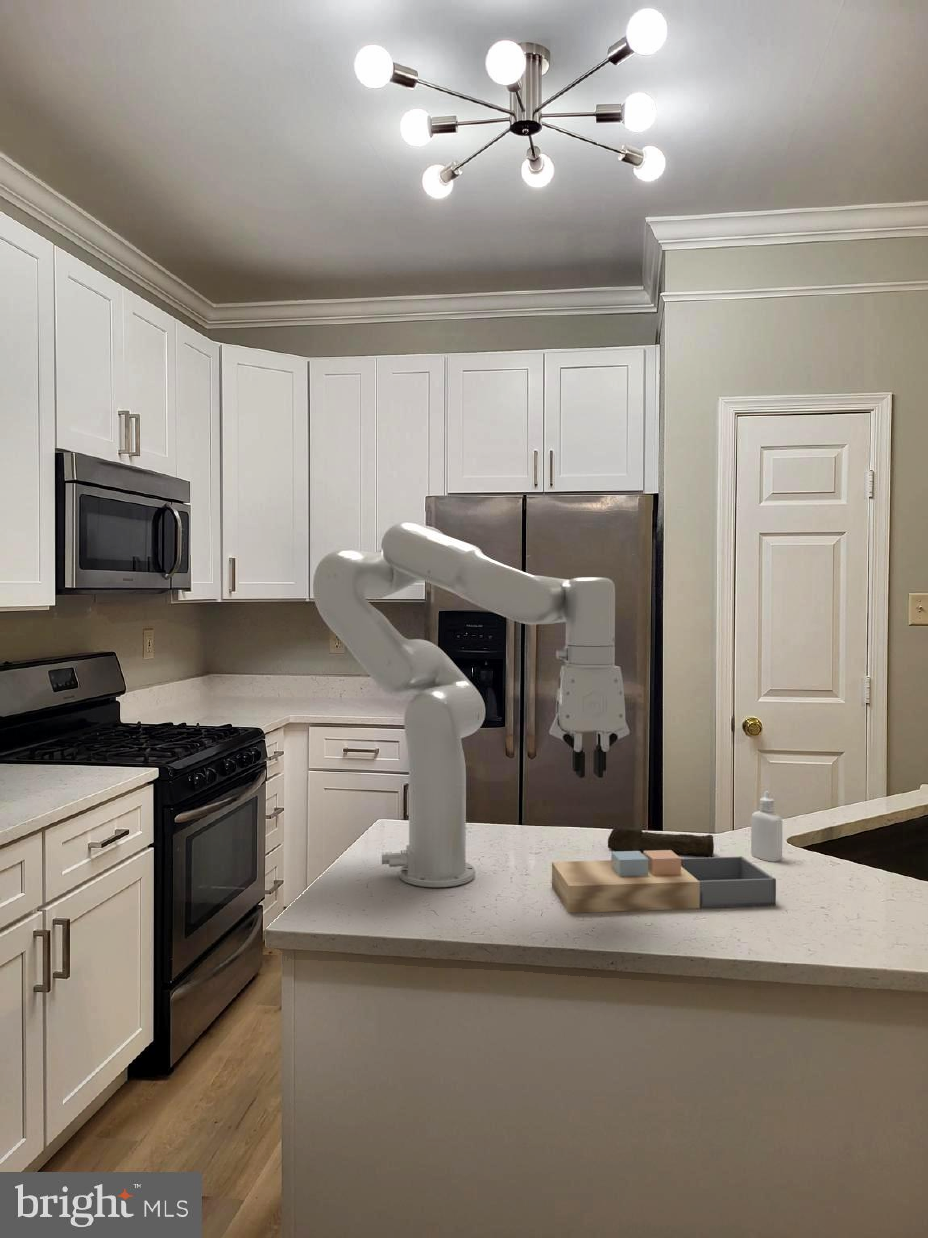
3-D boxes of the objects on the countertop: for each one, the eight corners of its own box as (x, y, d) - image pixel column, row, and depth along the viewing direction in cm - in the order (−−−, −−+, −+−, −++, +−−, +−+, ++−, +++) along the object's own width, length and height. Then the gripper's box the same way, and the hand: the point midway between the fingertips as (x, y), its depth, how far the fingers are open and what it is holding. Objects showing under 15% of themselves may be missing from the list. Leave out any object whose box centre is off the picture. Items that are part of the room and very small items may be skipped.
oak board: (568, 913, 128) (569, 886, 127) (551, 886, 139) (551, 862, 139) (699, 908, 130) (699, 881, 130) (671, 883, 142) (671, 858, 142)
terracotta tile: (652, 875, 133) (652, 859, 133) (643, 866, 137) (643, 850, 137) (680, 874, 133) (680, 858, 133) (670, 865, 138) (670, 850, 138)
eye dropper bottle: (772, 853, 159) (773, 788, 159) (784, 862, 153) (785, 795, 153) (748, 853, 159) (749, 788, 159) (760, 862, 153) (760, 795, 153)
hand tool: (713, 854, 159) (713, 829, 159) (714, 860, 155) (714, 834, 155) (609, 847, 164) (609, 822, 164) (607, 853, 160) (607, 827, 160)
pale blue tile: (619, 876, 132) (619, 860, 132) (611, 867, 137) (611, 851, 137) (648, 875, 133) (648, 859, 133) (638, 866, 137) (639, 851, 137)
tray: (699, 908, 130) (699, 881, 130) (671, 883, 142) (671, 858, 142) (775, 905, 131) (775, 879, 131) (741, 880, 143) (742, 856, 143)
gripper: (543, 659, 129) (543, 782, 129) (648, 658, 131) (647, 780, 131) (534, 656, 136) (533, 772, 137) (632, 655, 138) (632, 770, 138)
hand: (589, 775), depth 134 cm, fingers closed
